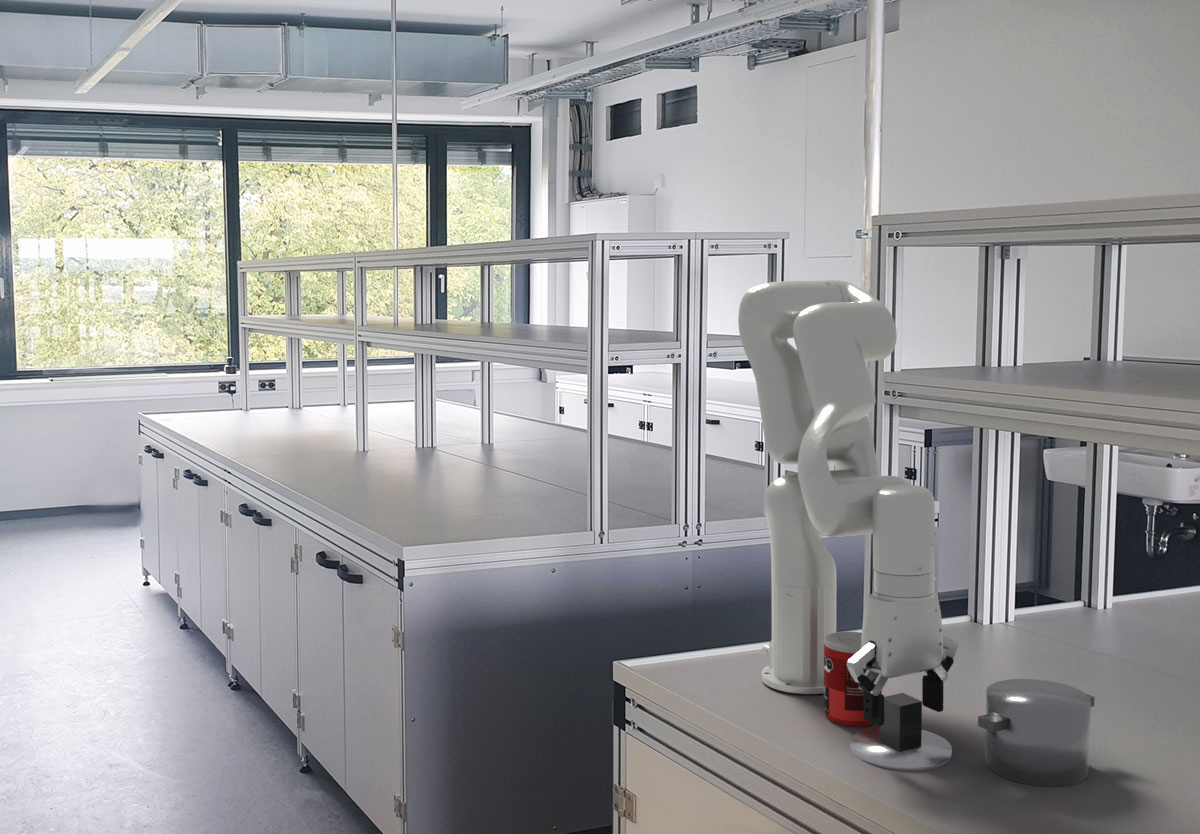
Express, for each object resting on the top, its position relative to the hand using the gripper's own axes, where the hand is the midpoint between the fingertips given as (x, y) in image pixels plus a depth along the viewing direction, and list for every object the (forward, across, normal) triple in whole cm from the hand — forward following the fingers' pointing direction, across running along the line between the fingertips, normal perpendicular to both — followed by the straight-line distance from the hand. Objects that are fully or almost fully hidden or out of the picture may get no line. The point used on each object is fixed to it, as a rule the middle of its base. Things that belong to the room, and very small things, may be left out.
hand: (903, 715), depth 151 cm
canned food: (+5, -2, -13) cm, 14 cm away
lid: (+5, 0, -1) cm, 5 cm away
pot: (+5, -11, +11) cm, 17 cm away
